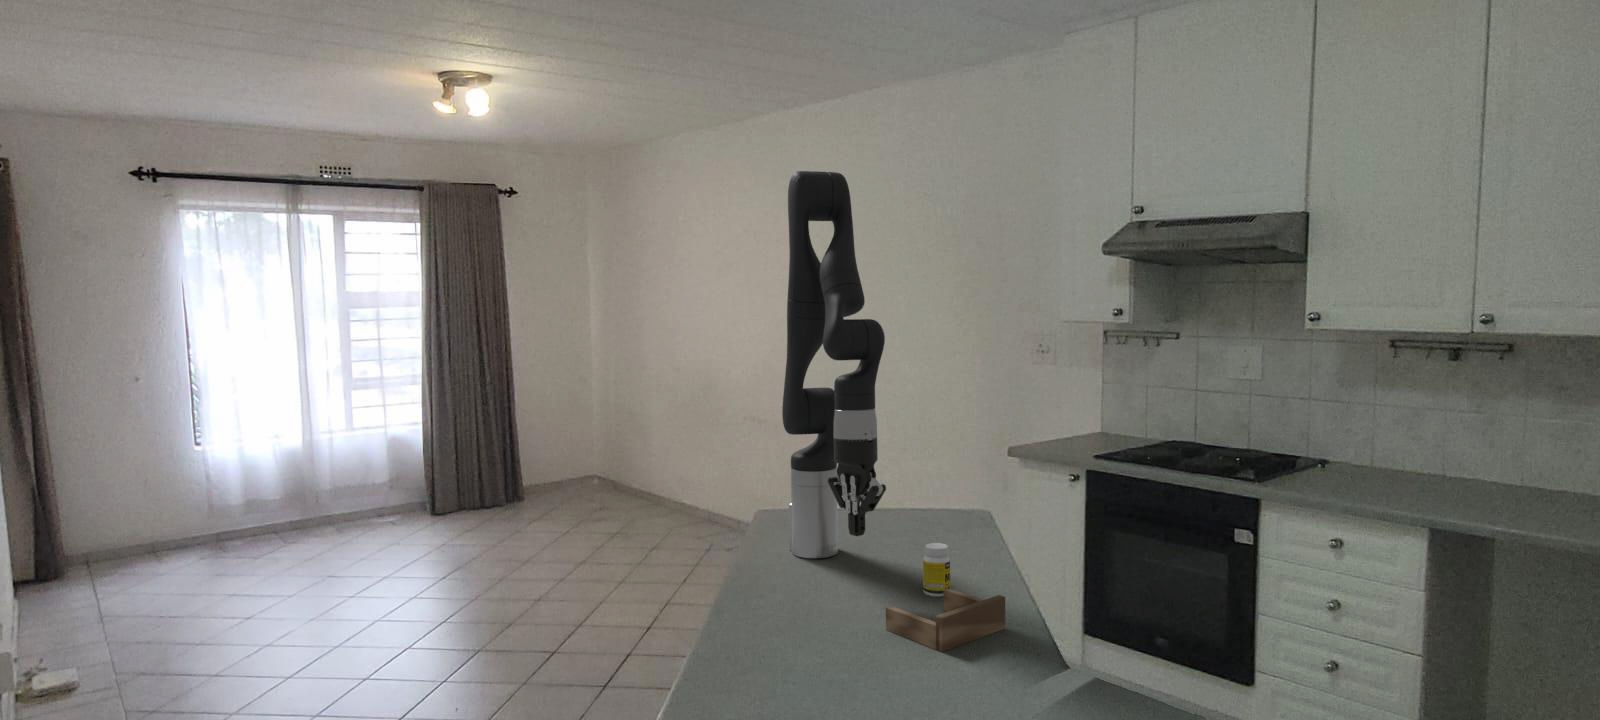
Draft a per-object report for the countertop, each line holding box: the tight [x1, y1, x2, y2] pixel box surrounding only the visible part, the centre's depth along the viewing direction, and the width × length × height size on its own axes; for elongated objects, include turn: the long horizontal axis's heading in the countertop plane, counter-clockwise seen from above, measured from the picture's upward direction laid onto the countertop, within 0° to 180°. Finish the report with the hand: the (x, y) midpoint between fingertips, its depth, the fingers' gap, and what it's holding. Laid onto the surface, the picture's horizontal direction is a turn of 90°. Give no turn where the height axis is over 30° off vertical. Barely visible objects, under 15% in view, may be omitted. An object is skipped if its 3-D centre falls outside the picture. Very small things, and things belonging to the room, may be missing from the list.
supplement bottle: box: [922, 542, 951, 597], centre depth 148 cm, size 5×5×8 cm
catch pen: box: [885, 588, 1006, 653], centre depth 131 cm, size 12×14×5 cm
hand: (857, 534), depth 146 cm, fingers closed
